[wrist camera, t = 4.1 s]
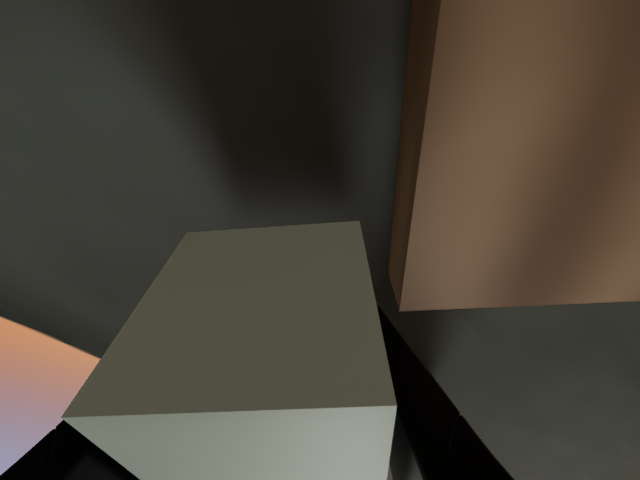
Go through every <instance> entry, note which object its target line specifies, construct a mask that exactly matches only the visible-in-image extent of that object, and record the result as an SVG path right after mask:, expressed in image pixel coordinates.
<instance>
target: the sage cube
mask: <svg viewBox="0 0 640 480" xmlns="http://www.w3.org/2000/svg"><path fill="white" fill-rule="evenodd" d="M396 409H397V403H396V398H395V393H394V388H393V383H392V378H391V373H390V368H389V364H388V359H387V354H386V349H385V344H384V339H383V334H382V329H381V324H380V319H379V314H378V309H377V304H376V299H375V294H374V290H373V285H372V280H371V275H370V270H369V265H368V260H367V255H366V250H365V245H364V240H363V235H362V230H361V225H360V221H349V222H335V223H320V224H306V225H291V226H277V227H263V228H248V229H234V230H219V231H205V232H190V233H186V235H185V236H184V238H183V239H182V240H181V242H180V243H179V245H178V246H177V248H176V249H175V251H174V252H173V254H172V255H171V257H170V258H169V260H168V261H167V263H166V264H165V265H164V267H163V268H162V270H161V271H160V273H159V274H158V276H157V277H156V279H155V280H154V282H153V283H152V285H151V286H150V288H149V289H148V290H147V292H146V293H145V295H144V296H143V298H142V299H141V301H140V302H139V304H138V305H137V307H136V308H135V310H134V311H133V313H132V314H131V315H130V317H129V318H128V320H127V321H126V323H125V324H124V326H123V327H122V329H121V330H120V332H119V333H118V335H117V336H116V338H115V339H114V340H113V342H112V343H111V345H110V346H109V348H108V349H107V351H106V352H105V354H104V355H103V357H102V358H101V360H100V361H99V363H98V364H97V365H96V367H95V369H94V370H93V371H92V373H91V374H90V376H89V377H88V379H87V380H86V382H85V383H84V385H83V386H82V387H81V389H80V390H79V392H78V393H77V395H76V396H75V398H74V399H73V401H72V402H71V404H70V405H69V407H68V408H67V410H66V411H65V413H64V414H63V416H62V417H61V418H62V419H63V420H65V421H66V422H67V423H68V424H70V425H71V426H72V427H74V428H75V429H76V430H77V431H79V432H80V433H81V434H83V435H84V436H85V437H86V438H88V439H89V440H90V441H91V442H93V443H94V444H95V445H97V446H98V447H99V448H100V449H102V450H103V451H104V452H105V453H107V454H108V455H109V456H111V457H112V458H113V459H114V460H116V461H117V462H118V463H119V464H121V465H122V466H123V467H125V468H126V469H127V470H128V471H130V472H131V473H132V474H133V475H135V476H136V477H137V478H139V479H140V480H387V475H388V468H389V460H390V453H391V446H392V439H393V431H394V424H395V417H396Z"/></svg>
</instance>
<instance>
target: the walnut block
mask: <svg viewBox="0 0 640 480" xmlns="http://www.w3.org/2000/svg"><path fill="white" fill-rule="evenodd" d="M388 273H389V277H390V280H391V284H392V287H393V291H394V294H395V298H396V302H397V305H398V309H399V311H421V310H444V309H466V308H489V307H512V306H534V305H557V304H580V303H602V302H625V301H640V0H412V6H411V17H410V29H409V40H408V51H407V62H406V74H405V85H404V96H403V107H402V119H401V130H400V141H399V152H398V164H397V175H396V186H395V197H394V209H393V220H392V231H391V242H390V254H389V265H388Z"/></svg>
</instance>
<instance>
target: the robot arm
mask: <svg viewBox="0 0 640 480" xmlns="http://www.w3.org/2000/svg"><path fill="white" fill-rule="evenodd" d="M377 309H378V314H379V319H380V324H381V329H382V334H383V339H384V344H385V349H386V354H387V359H388V364H389V368H390V373H391V378H392V383H393V388H394V393H395V398H396V403H397V409H396V417H395V424H394V431H393V439H392V446H391V453H390V460H389V465H390V469H391V473H392V478H393V480H514V479H513V478H512V477H511V475H510V474H509V473H508V472H507V471H506V470H505V468H504V467H503V466H502V465H501V464H500V463H499V461H498V460H497V459H496V458H495V457H494V456H493V454H492V453H491V452H490V451H489V449H488V448H487V447H486V446H485V444H484V443H483V442H482V440H481V439H480V438H479V437H478V435H477V434H476V433H475V432H474V430H473V429H472V428H471V426H470V425H469V424H468V422H467V421H466V420H465V418H464V417H463V416H462V415H460V412H459V411H458V409H457V408H456V407H455V405H454V404H453V403H452V401H451V400H450V399H449V397H448V396H447V395H446V393H445V392H444V391H443V389H442V388H441V387H440V385H439V384H438V383H437V381H436V380H435V379H434V377H433V376H432V375H431V373H430V372H429V371H428V370H427V368H426V367H425V366H424V364H423V363H422V362H421V360H420V359H419V358H418V356H417V355H416V354H415V352H414V351H413V350H412V348H411V347H410V346H409V344H408V343H407V342H406V340H405V339H404V338H403V336H402V335H401V334H400V332H399V331H398V330H397V328H396V327H395V326H394V324H393V323H392V322H391V320H390V319H389V318H388V316H387V315H386V314H385V312H384V311H383V310H382V308H381V307H380V306H378V305H377ZM459 415H460V416H459ZM0 480H140V479H139V478H137V477H136V476H135V475H133V474H132V473H131V472H130V471H128V470H127V469H126V468H125V467H123V466H122V465H121V464H119V463H118V462H117V461H116V460H114V459H113V458H112V457H111V456H109V455H108V454H107V453H105V452H104V451H103V450H102V449H100V448H99V447H98V446H97V445H95V444H94V443H93V442H91V441H90V440H89V439H88V438H86V437H85V436H84V435H83V434H81V433H80V432H79V431H77V430H76V429H75V428H74V427H72V426H71V425H70V424H68V423H67V422H66V421H65V420H63V421H62V422H61V423H60V424H59V425H57V426H56V429H53V430H52V431H50V432H49V434H47V435H46V436H45V437H44V438H43V439H42V440H41V441H39V442H38V443H37V444H36V445H35V446H34V447H33V448H32V449H31V450H30V451H28V452H27V453H26V454H25V455H24V456H23V457H21V458H20V459H19V460H18V461H17V462H16V463H15V464H13V465H12V466H11V467H10V468H9V469H8V470H7V471H5V472H4V473H3V474H2V475H0Z"/></svg>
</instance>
